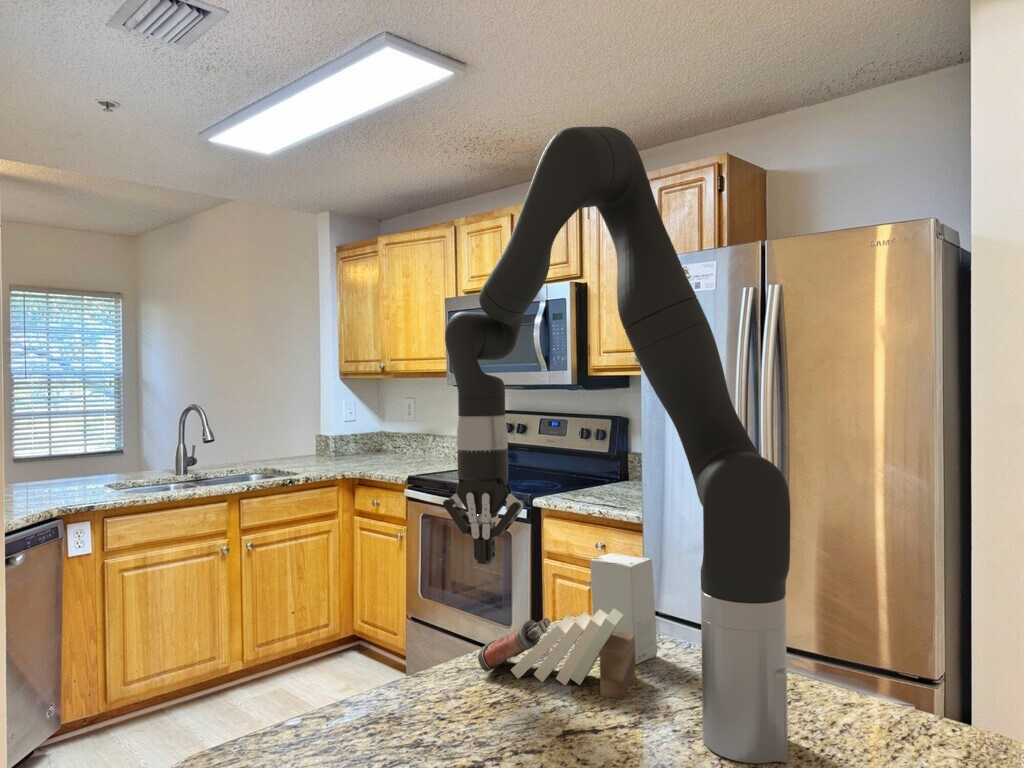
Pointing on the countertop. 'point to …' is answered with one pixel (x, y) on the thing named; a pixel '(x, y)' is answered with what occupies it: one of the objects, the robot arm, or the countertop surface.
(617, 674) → the block
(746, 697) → the robot arm
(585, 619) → the domino
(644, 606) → the skincare box
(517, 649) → the lighter
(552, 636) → the domino
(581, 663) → the domino
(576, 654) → the domino
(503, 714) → the countertop surface
